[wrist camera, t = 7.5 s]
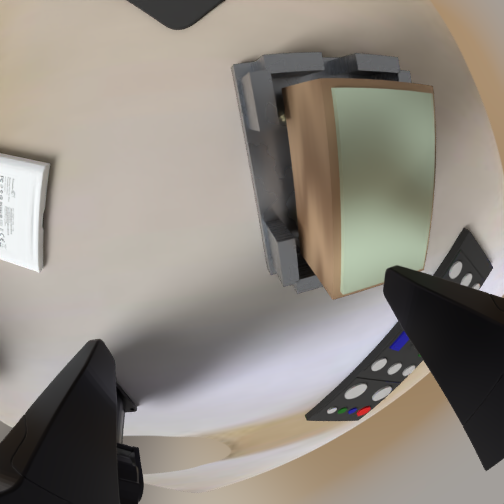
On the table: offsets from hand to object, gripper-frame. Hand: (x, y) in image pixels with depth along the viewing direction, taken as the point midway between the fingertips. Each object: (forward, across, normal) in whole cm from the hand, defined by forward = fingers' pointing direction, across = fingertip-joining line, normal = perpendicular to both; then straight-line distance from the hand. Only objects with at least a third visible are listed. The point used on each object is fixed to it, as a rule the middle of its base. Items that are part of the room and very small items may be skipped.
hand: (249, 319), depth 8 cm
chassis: (+11, -8, -2) cm, 14 cm away
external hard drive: (+12, +18, -5) cm, 22 cm away
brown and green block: (+9, -8, -2) cm, 12 cm away
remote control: (+12, -19, +22) cm, 32 cm away
